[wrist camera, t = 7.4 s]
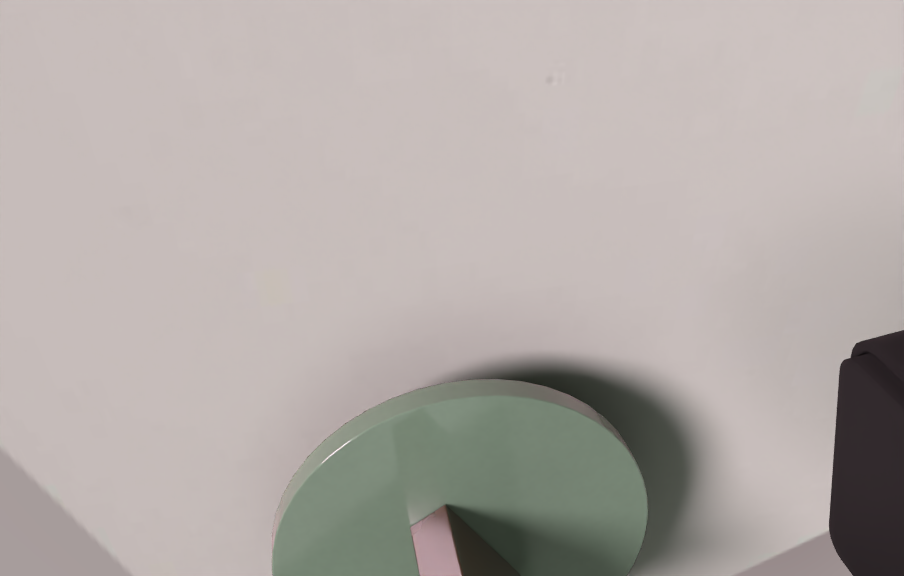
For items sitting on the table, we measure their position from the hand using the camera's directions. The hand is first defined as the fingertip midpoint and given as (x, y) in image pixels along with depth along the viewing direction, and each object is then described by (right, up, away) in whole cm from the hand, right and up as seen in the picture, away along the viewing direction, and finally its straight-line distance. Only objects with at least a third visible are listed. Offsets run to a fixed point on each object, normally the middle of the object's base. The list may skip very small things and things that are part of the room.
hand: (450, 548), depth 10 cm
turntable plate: (0, -6, +23) cm, 24 cm away
